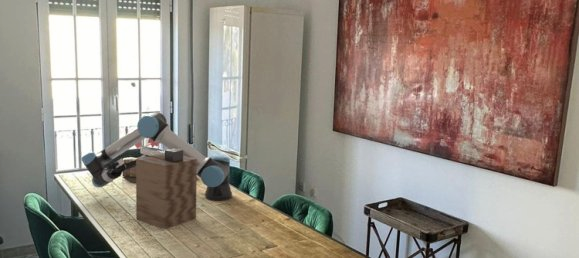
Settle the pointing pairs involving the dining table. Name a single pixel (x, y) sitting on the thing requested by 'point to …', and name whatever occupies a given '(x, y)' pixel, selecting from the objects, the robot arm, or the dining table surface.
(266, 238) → the dining table surface
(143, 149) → the light grey rectangular bar
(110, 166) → the robot arm
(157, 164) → the pedestal
